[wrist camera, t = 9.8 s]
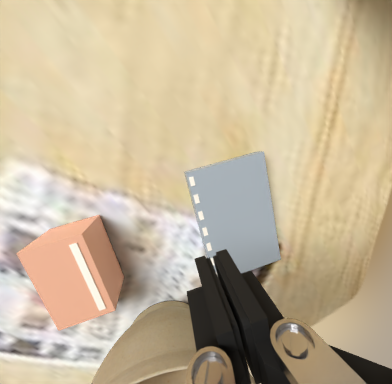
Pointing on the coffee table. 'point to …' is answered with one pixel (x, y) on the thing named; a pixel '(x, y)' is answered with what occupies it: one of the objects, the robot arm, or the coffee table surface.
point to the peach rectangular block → (74, 271)
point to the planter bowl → (152, 348)
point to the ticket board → (235, 210)
